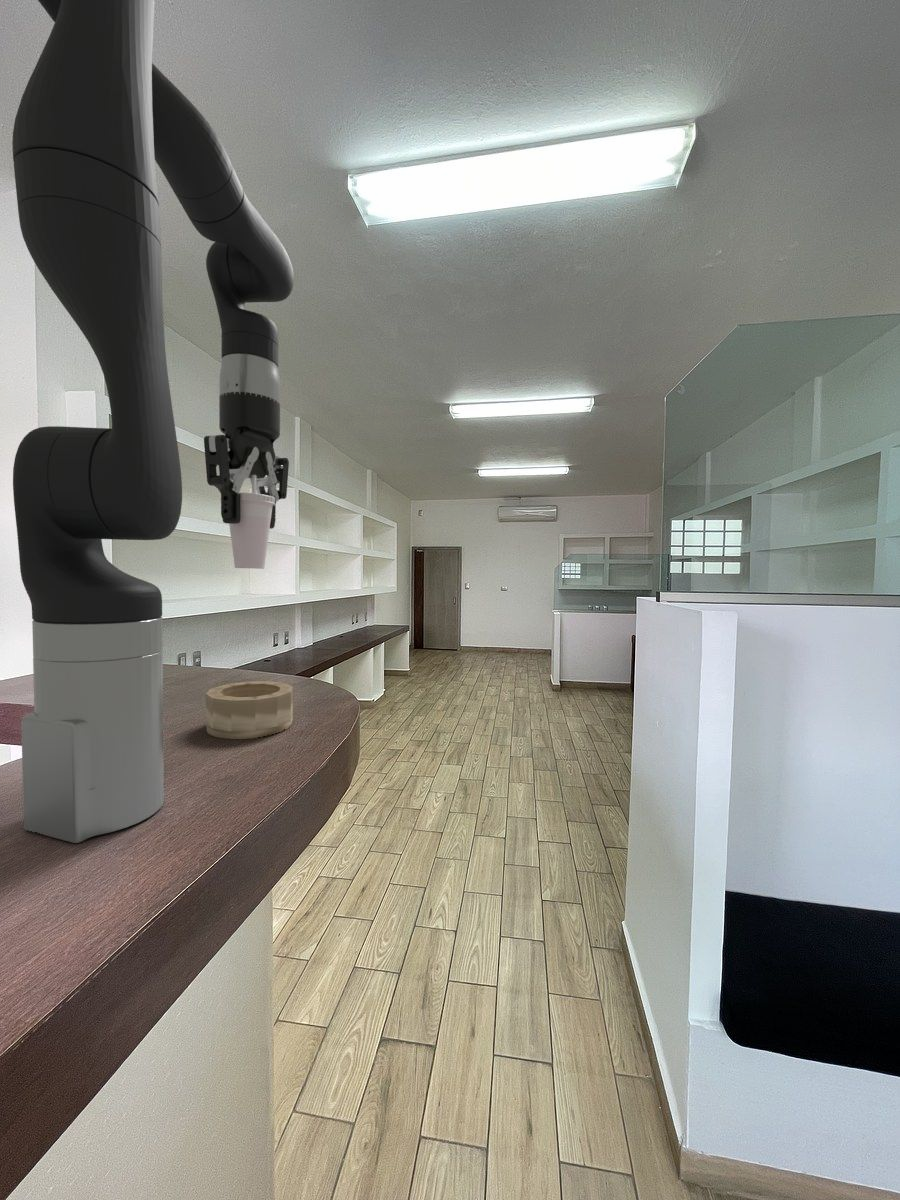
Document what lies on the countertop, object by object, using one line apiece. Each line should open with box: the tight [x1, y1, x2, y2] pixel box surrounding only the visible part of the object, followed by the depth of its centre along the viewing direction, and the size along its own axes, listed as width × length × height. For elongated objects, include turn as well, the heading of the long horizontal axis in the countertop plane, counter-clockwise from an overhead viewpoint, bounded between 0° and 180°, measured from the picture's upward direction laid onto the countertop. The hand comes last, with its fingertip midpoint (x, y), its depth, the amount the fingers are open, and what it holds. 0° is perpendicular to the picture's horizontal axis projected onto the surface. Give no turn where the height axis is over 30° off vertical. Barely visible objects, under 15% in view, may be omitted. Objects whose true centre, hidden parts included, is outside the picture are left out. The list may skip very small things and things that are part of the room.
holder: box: [205, 680, 294, 740], centre depth 70 cm, size 11×11×5 cm
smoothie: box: [228, 475, 275, 570], centre depth 68 cm, size 6×6×14 cm
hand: (249, 525), depth 69 cm, fingers closed on smoothie, 6 cm apart
